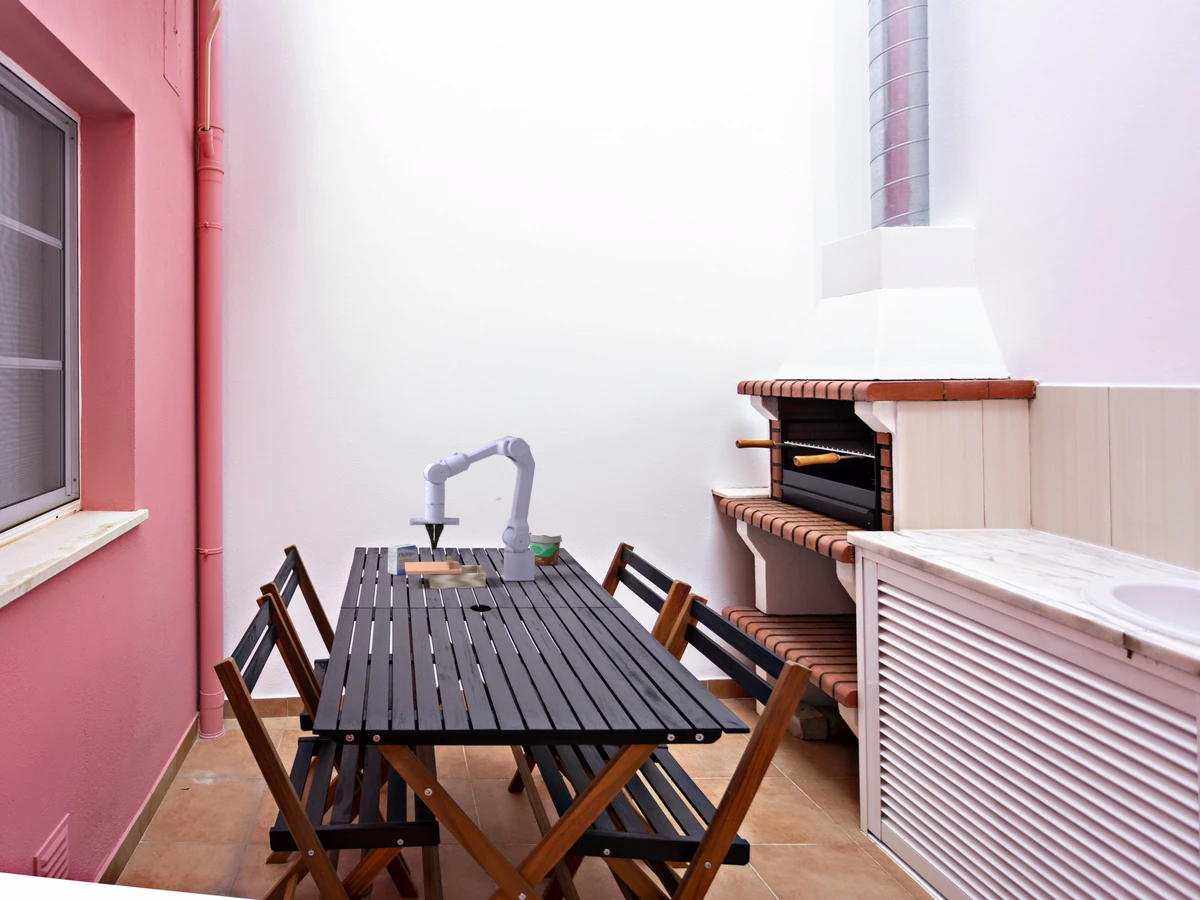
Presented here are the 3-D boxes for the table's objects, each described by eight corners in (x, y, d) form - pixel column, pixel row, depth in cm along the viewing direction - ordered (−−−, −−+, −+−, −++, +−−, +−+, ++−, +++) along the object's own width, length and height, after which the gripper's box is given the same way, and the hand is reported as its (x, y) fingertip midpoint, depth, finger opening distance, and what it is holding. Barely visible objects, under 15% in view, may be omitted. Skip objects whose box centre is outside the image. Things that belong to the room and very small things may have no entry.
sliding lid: (457, 564, 270) (458, 554, 270) (461, 573, 257) (462, 563, 257) (404, 565, 266) (404, 555, 266) (406, 574, 253) (406, 564, 253)
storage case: (480, 577, 272) (480, 565, 272) (485, 587, 259) (485, 574, 259) (427, 579, 268) (428, 566, 268) (430, 588, 255) (430, 575, 255)
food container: (520, 564, 295) (521, 534, 295) (528, 561, 301) (529, 532, 300) (553, 568, 291) (554, 538, 290) (561, 564, 296) (562, 535, 296)
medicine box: (396, 575, 271) (397, 548, 271) (387, 573, 274) (387, 546, 273) (416, 572, 278) (416, 545, 277) (406, 570, 280) (407, 543, 280)
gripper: (458, 502, 266) (457, 546, 267) (409, 502, 262) (408, 547, 263) (460, 505, 259) (459, 550, 260) (410, 505, 256) (409, 551, 256)
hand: (433, 549), depth 261 cm, fingers closed
